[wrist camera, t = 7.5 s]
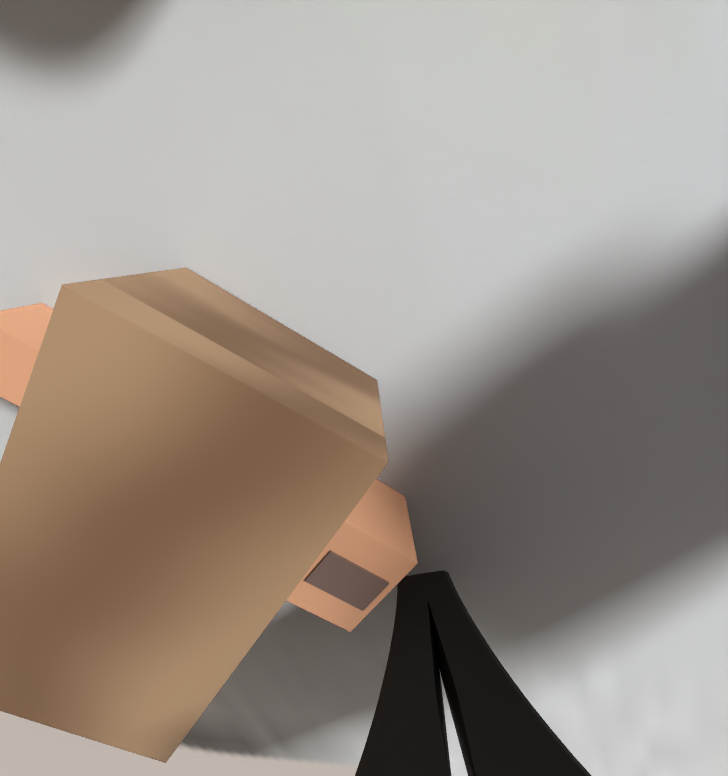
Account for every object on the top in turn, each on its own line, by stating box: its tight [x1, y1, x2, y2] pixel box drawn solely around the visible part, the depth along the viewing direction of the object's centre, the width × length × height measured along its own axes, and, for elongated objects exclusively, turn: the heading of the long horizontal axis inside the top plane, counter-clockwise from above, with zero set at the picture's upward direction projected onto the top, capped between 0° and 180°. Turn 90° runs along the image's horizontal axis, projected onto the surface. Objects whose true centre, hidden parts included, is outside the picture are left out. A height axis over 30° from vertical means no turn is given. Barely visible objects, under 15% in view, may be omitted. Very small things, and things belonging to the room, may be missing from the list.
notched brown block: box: [0, 268, 388, 763], centre depth 8 cm, size 5×9×4 cm, turn 148°
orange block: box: [0, 303, 418, 632], centre depth 9 cm, size 10×3×2 cm, turn 54°
